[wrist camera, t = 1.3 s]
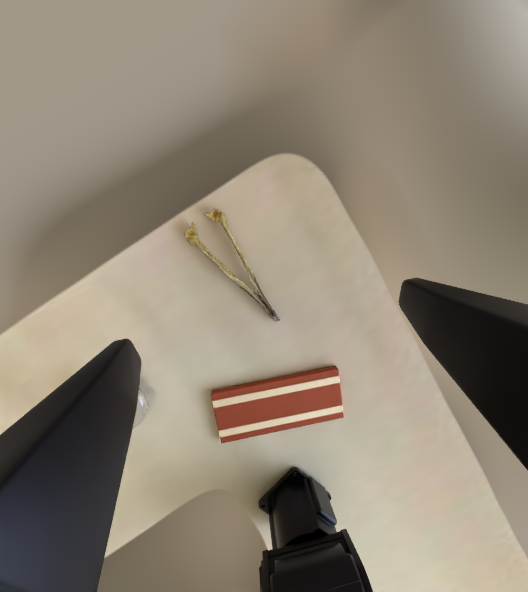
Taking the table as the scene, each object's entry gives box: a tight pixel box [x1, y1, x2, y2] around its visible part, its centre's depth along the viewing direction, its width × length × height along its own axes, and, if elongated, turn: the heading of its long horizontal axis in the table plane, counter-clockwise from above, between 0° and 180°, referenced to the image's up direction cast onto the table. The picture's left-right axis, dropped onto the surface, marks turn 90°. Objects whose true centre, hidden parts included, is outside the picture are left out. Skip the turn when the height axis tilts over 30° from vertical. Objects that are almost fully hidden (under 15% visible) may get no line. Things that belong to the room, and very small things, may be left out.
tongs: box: [185, 209, 280, 322], centre depth 25 cm, size 4×13×2 cm, turn 42°
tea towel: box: [211, 366, 344, 443], centre depth 28 cm, size 14×6×1 cm, turn 99°
